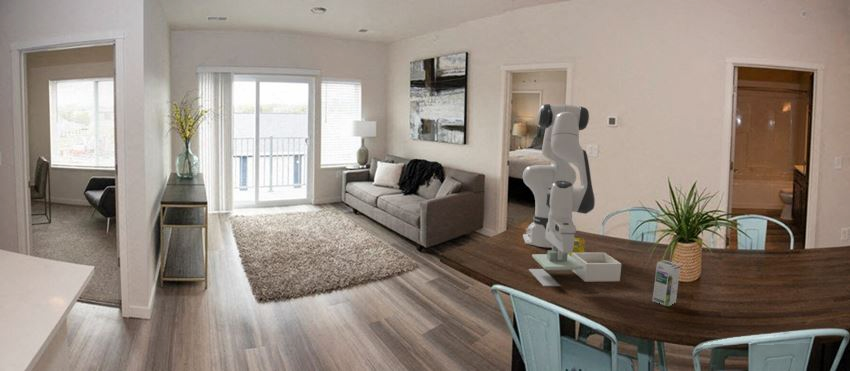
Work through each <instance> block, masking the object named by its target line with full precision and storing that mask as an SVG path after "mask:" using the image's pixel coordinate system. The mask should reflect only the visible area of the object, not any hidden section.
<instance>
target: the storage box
mask: <svg viewBox="0 0 850 371" xmlns="http://www.w3.org/2000/svg"><path fill="white" fill-rule="evenodd" d="M571 257H572V258H573V259H575V260H576V261H577V262H579V263H580V264H581V265H582V266H583V269H577V270H571V271H572V272H573V273H575V274H576V276H578V277H579V278H580V279H581V280H582V281H584V282H586V283H587V282H620V281H621V271H622V263H621V262H619V261H618V260H616V259H615V258H614V257H612V256H610V255H609V254H608V253H606V252H605V251H604V252H584V253H572V256H571ZM596 261H601V262H602V263H589V262H596Z"/></svg>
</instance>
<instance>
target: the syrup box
mask: <svg viewBox="0 0 850 371" xmlns="http://www.w3.org/2000/svg"><path fill="white" fill-rule="evenodd" d="M681 266H682V265H681V264H680V263H677V262H672V261H669V260H665V259H663V260H660V261H657V262H656V266H655V267H656V268H655V277H654V286H653V293H652V299H651V300H652V302H654V303H657V304H659V303H660V304H659V305H662V306H665V307H667V306H668V307H670V306H673V305H674V303H675V304H676V303H677V295H678V288H679V281H680V274H681V273H680V272H681ZM672 304H673V305H672Z"/></svg>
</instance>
